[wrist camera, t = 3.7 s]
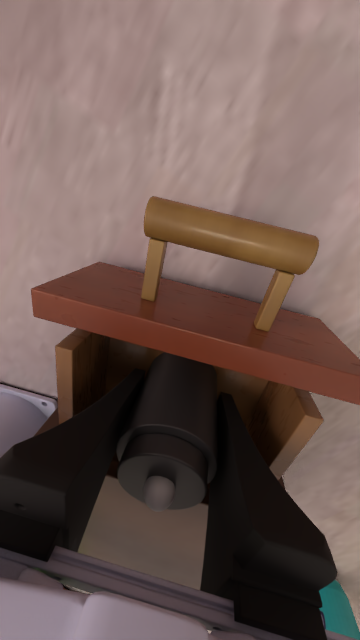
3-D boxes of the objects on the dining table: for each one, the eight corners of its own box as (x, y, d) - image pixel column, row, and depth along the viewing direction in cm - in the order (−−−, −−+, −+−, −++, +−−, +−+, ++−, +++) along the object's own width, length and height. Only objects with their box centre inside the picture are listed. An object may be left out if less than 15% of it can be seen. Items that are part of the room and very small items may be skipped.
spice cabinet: (91, 365, 18) (21, 450, 11) (266, 413, 17) (296, 531, 11) (87, 463, 24) (40, 554, 17) (215, 501, 23) (215, 609, 17)
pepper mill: (144, 393, 15) (93, 520, 9) (155, 340, 13) (99, 455, 7) (206, 410, 15) (199, 552, 9) (226, 359, 13) (236, 495, 7)
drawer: (102, 184, 11) (17, 161, 6) (359, 248, 11) (477, 274, 6) (91, 408, 18) (48, 475, 14) (243, 452, 18) (253, 537, 13)
